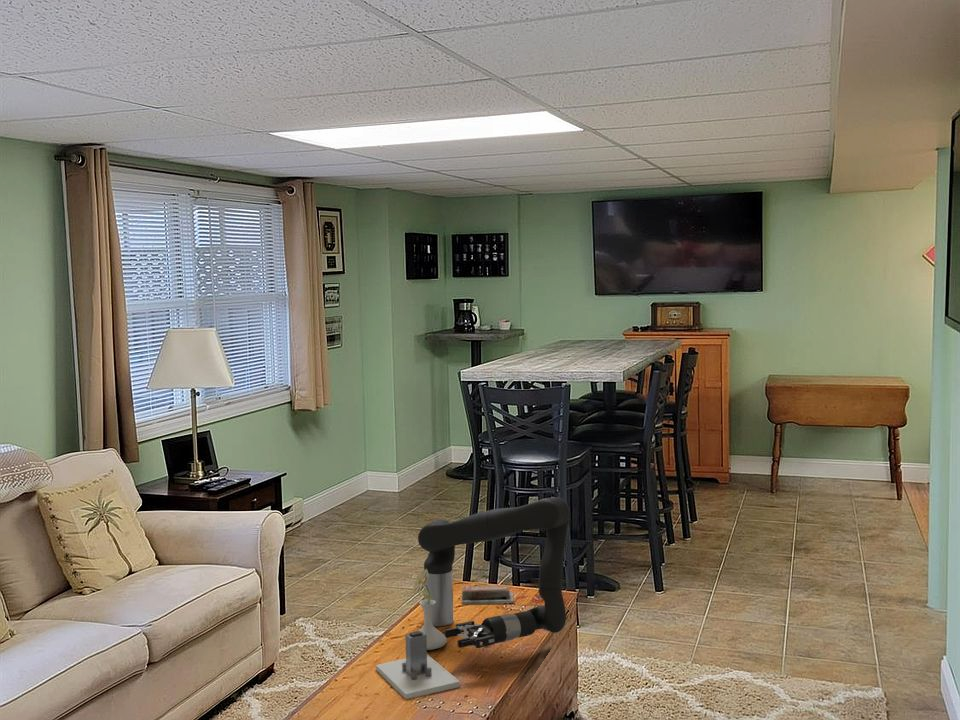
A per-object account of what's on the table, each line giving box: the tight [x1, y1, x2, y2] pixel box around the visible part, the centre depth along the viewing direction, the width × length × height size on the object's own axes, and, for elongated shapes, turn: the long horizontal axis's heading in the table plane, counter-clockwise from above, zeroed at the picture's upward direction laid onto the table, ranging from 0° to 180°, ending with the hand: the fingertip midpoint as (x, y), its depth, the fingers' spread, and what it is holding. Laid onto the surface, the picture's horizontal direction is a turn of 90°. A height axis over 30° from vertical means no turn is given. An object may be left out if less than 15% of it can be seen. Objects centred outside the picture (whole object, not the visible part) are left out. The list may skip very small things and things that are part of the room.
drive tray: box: [375, 654, 461, 700], centre depth 264 cm, size 22×16×4 cm
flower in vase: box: [412, 568, 448, 651], centre depth 286 cm, size 13×11×25 cm
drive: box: [404, 630, 428, 676], centre depth 264 cm, size 3×5×12 cm, turn 118°
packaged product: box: [461, 585, 515, 605], centre depth 329 cm, size 18×5×10 cm
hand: (451, 638), depth 268 cm, fingers open, 8 cm apart
